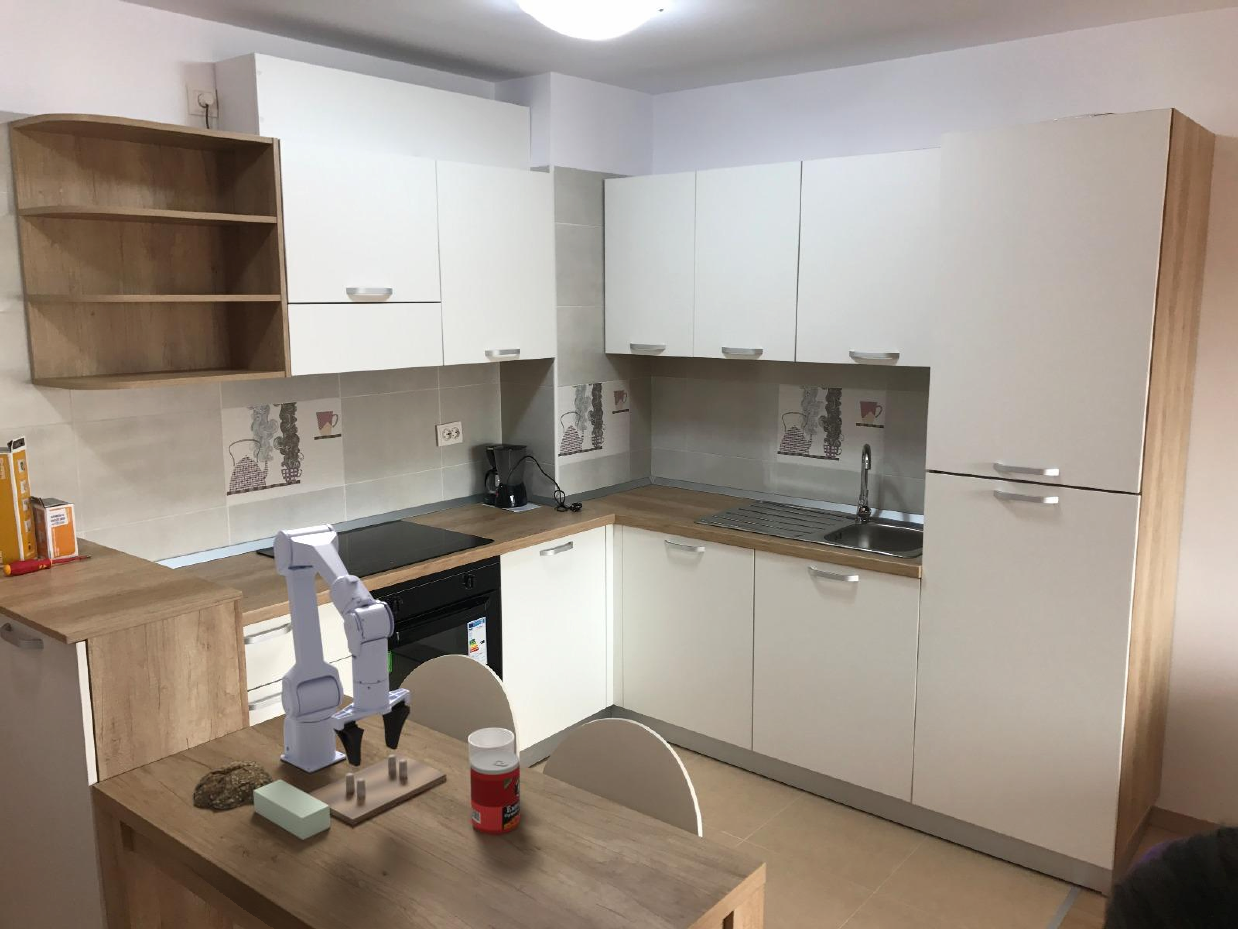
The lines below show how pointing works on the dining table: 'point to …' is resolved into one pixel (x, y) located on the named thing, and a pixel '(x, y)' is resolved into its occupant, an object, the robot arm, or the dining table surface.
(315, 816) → the pale green rectangular block
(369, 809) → the peg base
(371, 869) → the dining table surface
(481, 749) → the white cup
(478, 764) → the canned food
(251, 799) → the bread roll
